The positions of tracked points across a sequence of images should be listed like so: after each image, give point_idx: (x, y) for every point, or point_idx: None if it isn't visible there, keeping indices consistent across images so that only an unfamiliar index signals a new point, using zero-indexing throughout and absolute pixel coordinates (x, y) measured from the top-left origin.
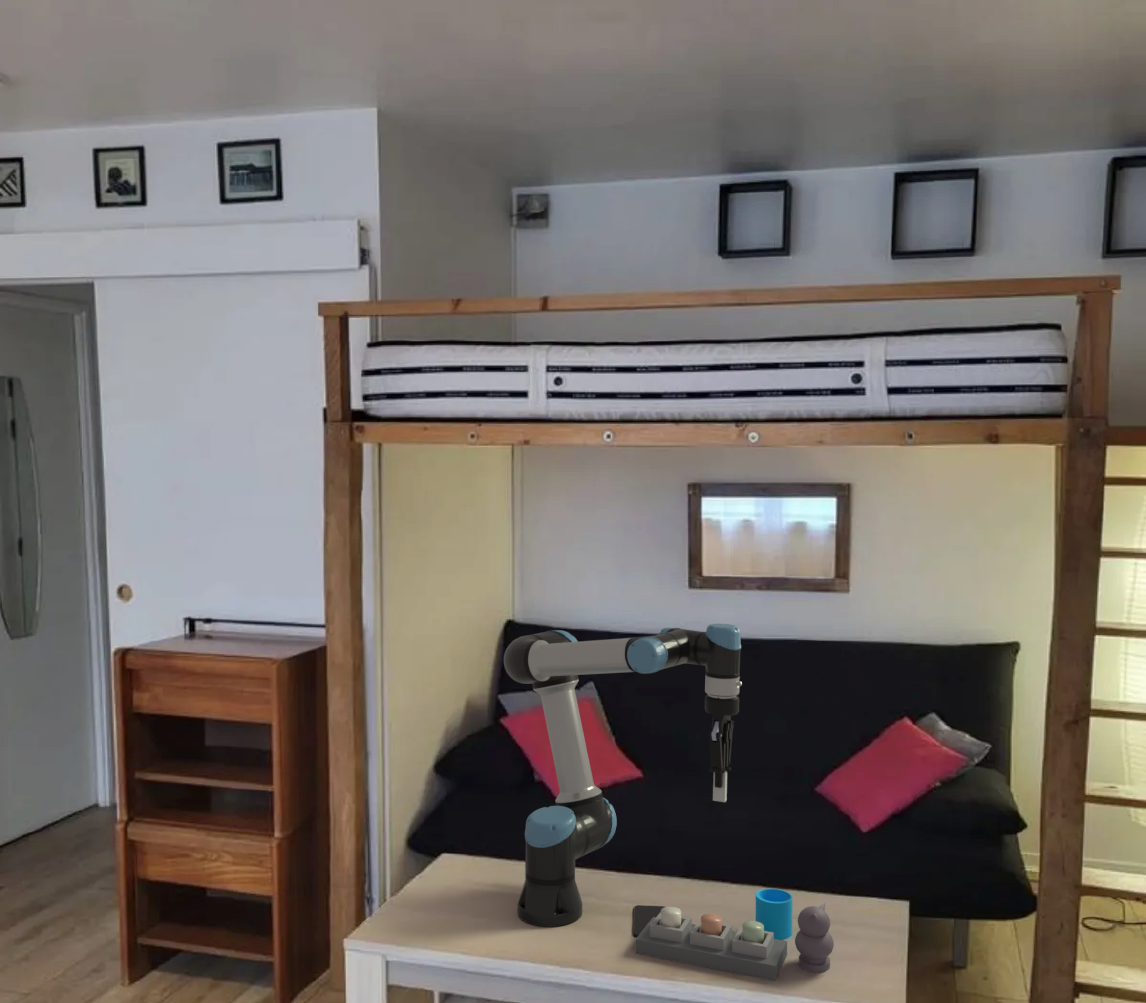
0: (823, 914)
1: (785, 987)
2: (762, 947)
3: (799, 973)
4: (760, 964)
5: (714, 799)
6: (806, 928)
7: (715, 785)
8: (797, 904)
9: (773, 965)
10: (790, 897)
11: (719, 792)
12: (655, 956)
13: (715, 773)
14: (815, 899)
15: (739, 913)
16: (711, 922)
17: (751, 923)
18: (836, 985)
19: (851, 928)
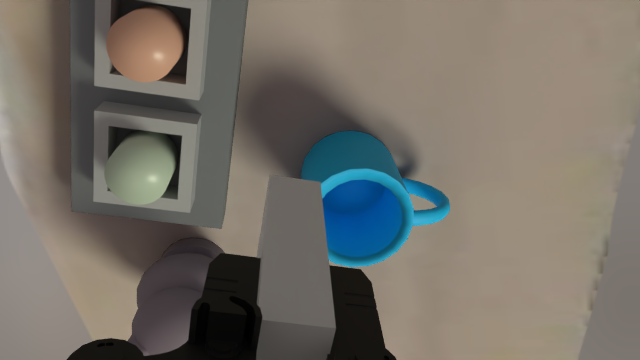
0: None
1: (62, 216)
2: (94, 190)
3: (142, 241)
4: (72, 174)
5: (267, 190)
6: (135, 314)
7: (211, 267)
8: (525, 221)
9: (72, 206)
10: (356, 261)
11: (259, 255)
12: None
13: (186, 345)
14: (560, 259)
15: (446, 80)
16: (107, 52)
17: (148, 170)
18: (117, 309)
19: (405, 332)
